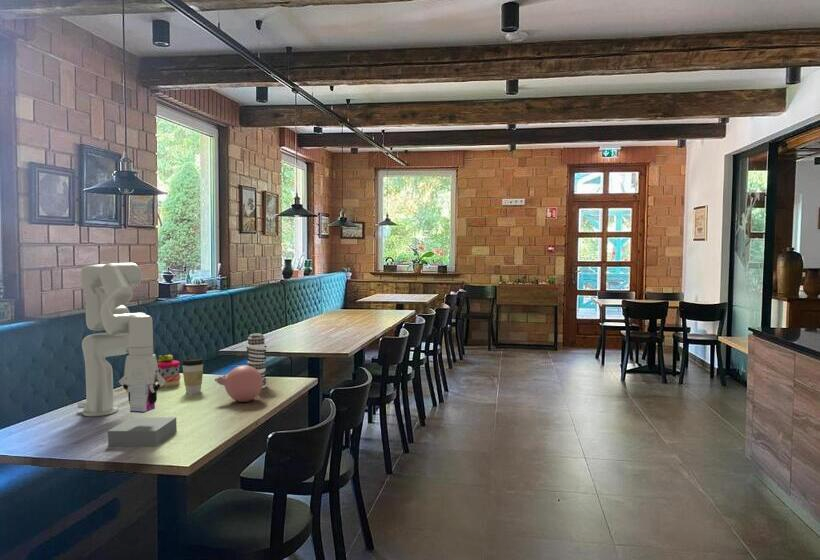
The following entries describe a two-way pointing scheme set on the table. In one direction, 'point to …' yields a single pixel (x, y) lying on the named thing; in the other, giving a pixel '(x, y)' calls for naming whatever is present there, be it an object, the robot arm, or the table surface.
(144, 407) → the supplement box
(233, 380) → the balloon
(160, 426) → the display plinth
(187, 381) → the coffee cup
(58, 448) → the table surface
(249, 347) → the striped thermos bottle
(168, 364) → the cake
